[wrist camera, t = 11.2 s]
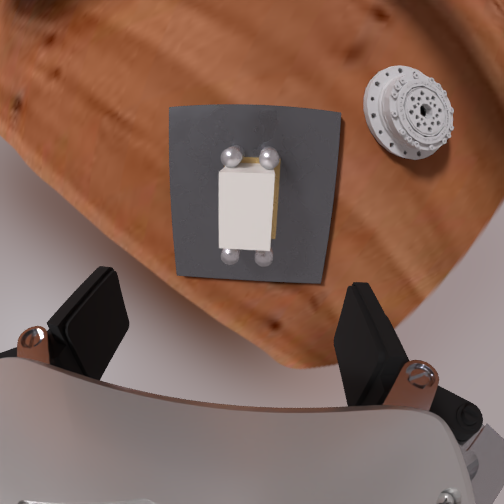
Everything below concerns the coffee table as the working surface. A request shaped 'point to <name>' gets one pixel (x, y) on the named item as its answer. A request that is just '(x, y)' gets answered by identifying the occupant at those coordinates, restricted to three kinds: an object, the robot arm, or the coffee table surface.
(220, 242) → the jaw block
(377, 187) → the coffee table surface
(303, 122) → the base plate
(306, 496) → the robot arm
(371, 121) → the mechanical component
